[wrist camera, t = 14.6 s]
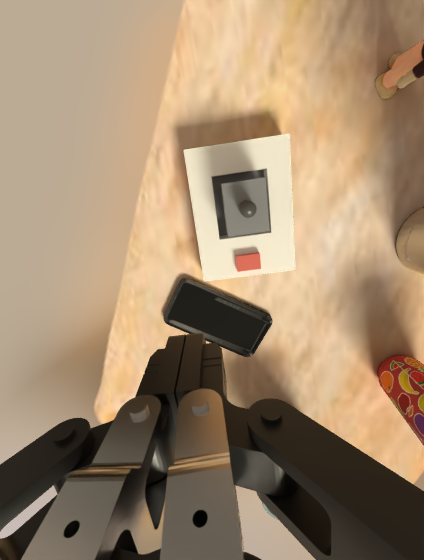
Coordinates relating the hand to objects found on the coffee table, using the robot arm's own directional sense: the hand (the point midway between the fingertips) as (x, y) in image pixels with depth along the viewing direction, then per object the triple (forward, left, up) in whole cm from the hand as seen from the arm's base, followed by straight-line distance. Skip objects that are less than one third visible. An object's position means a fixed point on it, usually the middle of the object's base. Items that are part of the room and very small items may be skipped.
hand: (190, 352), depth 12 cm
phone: (0, +12, -28) cm, 30 cm away
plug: (-5, -4, -27) cm, 27 cm away
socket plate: (-5, -3, -27) cm, 28 cm away
